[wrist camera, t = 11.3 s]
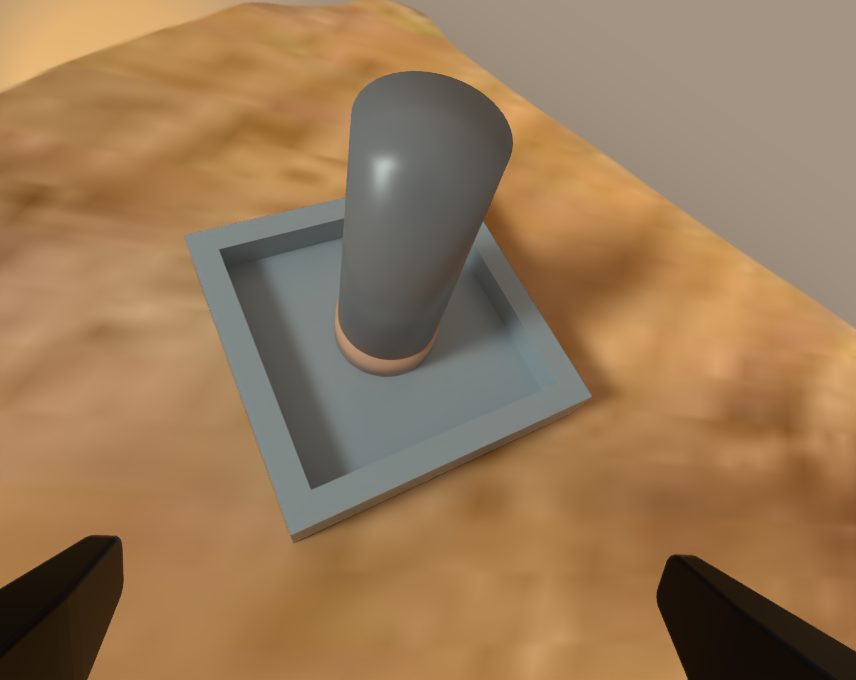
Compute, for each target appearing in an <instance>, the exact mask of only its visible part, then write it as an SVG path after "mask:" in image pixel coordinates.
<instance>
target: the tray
mask: <svg viewBox="0 0 856 680" xmlns="http://www.w3.org/2000/svg"><path fill="white" fill-rule="evenodd" d="M345 199H346V198H342V199H337V200H333V201H329V202H325V203H320V204H316V205H312V206H307V207H303V208H299V209H295V210H290V211H286V212H282V213H277V214H273V215H269V216H265V217H260V218H256V219H252V220H247V221H243V222H239V223H235V224H230V225H226V226H222V227H217V228H213V229H209V230H205V231H200V232H196V233H192V234H187V235H184V238H185V241H186V244H187V246H188V249H189V252H190V255H191V258H192V260H193V263H194V266H195V269H196V272H197V274H198V277H199V280H200V283H201V286H202V288H203V291H204V294H205V297H206V300H207V302H208V305H209V308H210V311H211V314H212V316H213V319H214V322H215V325H216V328H217V330H218V333H219V336H220V339H221V342H222V344H223V347H224V350H225V353H226V356H227V358H228V361H229V364H230V367H231V370H232V372H233V375H234V378H235V381H236V384H237V386H238V389H239V392H240V395H241V398H242V400H243V403H244V406H245V409H246V412H247V414H248V417H249V420H250V423H251V426H252V428H253V431H254V434H255V437H256V440H257V442H258V445H259V448H260V451H261V454H262V456H263V459H264V462H265V465H266V468H267V470H268V473H269V476H270V479H271V482H272V484H273V487H274V490H275V493H276V496H277V498H278V501H279V504H280V507H281V510H282V512H283V515H284V518H285V521H286V524H287V526H288V529H289V532H290V535H291V537H292V540H293V543H295V542H297V541H299V540H301V539H303V538H306V537H308V536H310V535H312V534H314V533H316V532H318V531H321V530H323V529H325V528H327V527H329V526H331V525H333V524H336V523H338V522H340V521H342V520H344V519H346V518H349V517H351V516H353V515H355V514H357V513H359V512H361V511H364V510H366V509H368V508H370V507H372V506H374V505H376V504H379V503H381V502H383V501H385V500H387V499H389V498H391V497H394V496H396V495H398V494H400V493H402V492H404V491H406V490H409V489H411V488H413V487H415V486H417V485H419V484H421V483H424V482H426V481H428V480H430V479H432V478H434V477H436V476H439V475H441V474H443V473H445V472H447V471H449V470H451V469H454V468H456V467H458V466H460V465H462V464H464V463H466V462H469V461H471V460H473V459H475V458H477V457H479V456H481V455H484V454H486V453H488V452H490V451H492V450H494V449H496V448H499V447H501V446H503V445H505V444H507V443H509V442H511V441H514V440H516V439H518V438H520V437H522V436H524V435H526V434H529V433H531V432H533V431H535V430H537V429H539V428H541V427H544V426H546V425H548V424H550V423H552V422H554V421H556V420H559V419H561V418H563V417H565V416H567V415H569V414H570V413H572V412H573V411H574V410H576V409H577V408H578V407H580V406H581V405H582V404H583V403H585V402H586V401H587V400H589V399H590V398H591V397H592V395H591V393H590V392H589V390H588V389H587V387H586V385H585V384H584V382H583V381H582V379H581V377H580V376H579V374H578V373H577V371H576V369H575V368H574V366H573V365H572V363H571V361H570V360H569V358H568V357H567V355H566V353H565V352H564V350H563V349H562V347H561V345H560V344H559V342H558V340H557V339H556V337H555V336H554V334H553V332H552V331H551V329H550V328H549V326H548V324H547V323H546V321H545V320H544V318H543V316H542V315H541V313H540V312H539V310H538V308H537V307H536V305H535V304H534V302H533V300H532V299H531V297H530V296H529V294H528V292H527V291H526V289H525V287H524V286H523V284H522V283H521V281H520V279H519V278H518V276H517V275H516V273H515V271H514V270H513V268H512V267H511V265H510V263H509V262H508V260H507V259H506V257H505V255H504V254H503V252H502V251H501V249H500V247H499V246H498V244H497V243H496V241H495V239H494V238H493V236H492V235H491V233H490V231H489V230H488V228H487V226H486V225H485V223H484V222H482V225H481V227H480V229H479V232H478V234H477V236H476V239H475V241H474V243H473V246H472V248H471V250H470V253H469V255H468V257H467V260H466V262H465V264H464V267H463V269H462V271H461V274H460V276H459V279H458V281H457V283H456V286H455V288H454V290H453V293H452V295H451V297H450V300H449V302H448V304H447V307H446V309H445V311H444V314H443V316H442V318H441V321H440V325H439V330H438V333H437V336H436V338H435V340H434V343H433V345H432V347H431V350H430V352H429V354H428V356H427V357H426V358H425V360H424V361H423V362H422V363H421V364H420V365H419V366H418V367H416V368H415V369H413V370H412V371H410V372H408V373H405V374H402V375H399V376H393V377H381V376H375V375H371V374H368V373H365V372H363V371H361V370H359V369H357V368H356V367H354V366H353V365H352V364H351V363H349V362H348V361H347V359H346V358H345V357H344V356H343V355H342V353H341V352H340V350H339V348H338V345H337V342H336V339H335V313H336V305H337V302H338V299H339V288H340V273H341V258H342V243H343V229H344V214H345Z"/></svg>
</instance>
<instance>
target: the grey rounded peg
mask: <svg viewBox="0 0 856 680" xmlns="http://www.w3.org/2000/svg"><path fill="white" fill-rule="evenodd" d="M512 147H513V139H512V133H511V129H510V126H509V124H508V122H507V120H506V118H505V116H504V115H503V113H502V112H501V111H500V109H499V108H498V107H497V106H496V105H495V104H494V103H493V102H492V101H491V100H490V99H489V98H488V97H487V96H485V95H484V94H483V93H481V92H480V91H478V90H477V89H475V88H473V87H472V86H470V85H468V84H466V83H464V82H462V81H460V80H457V79H454V78H452V77H448V76H445V75H441V74H436V73H431V72H422V71H407V72H399V73H393V74H389V75H386V76H383V77H381V78H379V79H376V80H375V81H373V82H371V83H370V84H368V85H367V86H366V87H365V88H364V89H363V90H362V91H361V92H360V93H359V94H358V96H357V98H356V99H355V101H354V104H353V107H352V113H351V124H350V139H349V154H348V169H347V184H346V199H345V214H344V229H343V243H342V258H341V273H340V288H339V299H338V302H337V305H336V313H335V339H336V342H337V345H338V348H339V350H340V352H341V353H342V355H343V356H344V357H345V358H346V359H347V361H348V362H349V363H351V364H352V365H353V366H354V367H356V368H357V369H359V370H361V371H363V372H365V373H368V374H371V375H375V376H381V377H393V376H399V375H402V374H405V373H408V372H410V371H412V370H413V369H415V368H416V367H418V366H419V365H420V364H421V363H422V362H423V361H424V360H425V358H426V357H427V356H428V354H429V352H430V350H431V347H432V345H433V343H434V340H435V338H436V336H437V333H438V330H439V325H440V321H441V318H442V316H443V314H444V311H445V309H446V307H447V304H448V302H449V300H450V297H451V295H452V293H453V290H454V288H455V286H456V283H457V281H458V279H459V276H460V274H461V271H462V269H463V267H464V264H465V262H466V260H467V257H468V255H469V253H470V250H471V248H472V246H473V243H474V241H475V239H476V236H477V234H478V232H479V229H480V227H481V225H482V222H483V220H484V217H485V215H486V213H487V210H488V208H489V206H490V203H491V201H492V199H493V196H494V194H495V192H496V189H497V187H498V185H499V182H500V180H501V178H502V175H503V173H504V171H505V168H506V166H507V163H508V161H509V159H510V156H511V153H512Z"/></svg>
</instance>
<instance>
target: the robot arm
mask: <svg viewBox="0 0 856 680" xmlns="http://www.w3.org/2000/svg"><path fill="white" fill-rule="evenodd" d="M123 582H124V576H123V550H122V542H121V539H120V538H119V537H118V536H110V535H90V536H88V537H86V538H84V539H82V540H80V541H79V542H77V543H75V544H74V545H72V546H70V547H69V548H67V549H65V550H64V551H62V552H60V553H59V554H57V555H55V556H54V557H52V558H50V559H49V560H47V561H45V562H44V563H42V564H40V565H39V566H37V567H35V568H34V569H32V570H30V571H29V572H27V573H26V574H24V575H22V576H21V577H19V578H17V579H16V580H14V581H12V582H11V583H9V584H7V585H6V586H4V587H2V588H1V589H0V680H87V679H88V677H89V674H90V672H91V669H92V667H93V664H94V662H95V659H96V657H97V654H98V652H99V649H100V647H101V644H102V642H103V639H104V637H105V634H106V632H107V629H108V627H109V624H110V622H111V619H112V617H113V614H114V612H115V609H116V607H117V604H118V602H119V599H120V597H121V593H122V589H123ZM656 597H657V604H658V607H659V610H660V612H661V615H662V617H663V620H664V622H665V625H666V627H667V629H668V632H669V634H670V637H671V639H672V642H673V644H674V646H675V649H676V651H677V654H678V656H679V659H680V661H681V663H682V666H683V668H684V671H685V673H686V676H687V678H688V680H856V652H855V651H854V650H852V649H850V648H849V647H847V646H845V645H844V644H842V643H840V642H839V641H837V640H835V639H834V638H832V637H830V636H829V635H827V634H825V633H824V632H822V631H820V630H819V629H817V628H815V627H814V626H812V625H810V624H809V623H807V622H805V621H804V620H802V619H800V618H799V617H797V616H795V615H794V614H792V613H790V612H789V611H787V610H785V609H784V608H782V607H780V606H779V605H777V604H775V603H774V602H772V601H770V600H769V599H767V598H765V597H763V596H762V595H760V594H758V593H757V592H755V591H753V590H752V589H750V588H748V587H747V586H745V585H743V584H742V583H740V582H738V581H737V580H735V579H733V578H732V577H730V576H728V575H727V574H725V573H723V572H722V571H720V570H718V569H717V568H715V567H713V566H712V565H710V564H708V563H707V562H705V561H703V560H702V559H700V558H698V557H696V556H693V555H678V554H675V555H672V556H670V557H669V558H668V560H667V562H666V565H665V568H664V571H663V574H662V577H661V580H660V583H659V586H658V589H657V596H656Z"/></svg>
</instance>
